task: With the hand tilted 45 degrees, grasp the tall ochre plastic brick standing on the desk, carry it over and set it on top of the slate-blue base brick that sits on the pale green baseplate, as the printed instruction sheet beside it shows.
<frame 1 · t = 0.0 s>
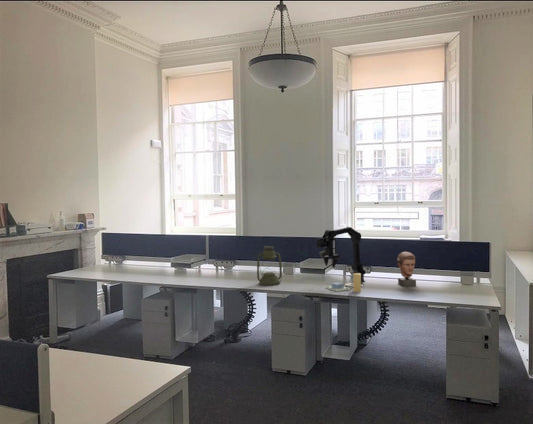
hand: (329, 266, 360), 15 cm above the table, tool pointing down, fingers open, 9 cm apart
base brick: (337, 285, 349), point 2 cm above the table
lantern: (269, 283, 373), on the table
bust: (407, 285, 357), on the table
pillar brick: (357, 290, 341), on the table
instruction sheet: (353, 285, 361), on the table
baseplate: (337, 288, 349), on the table
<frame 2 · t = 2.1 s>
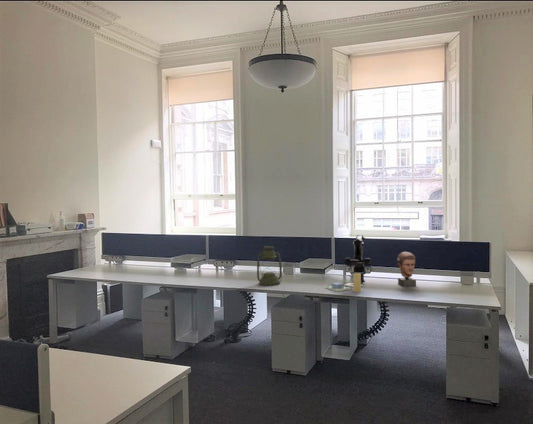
hand: (357, 270, 347), 13 cm above the table, tool tilted 45°, fingers open, 9 cm apart
nothing on the table moved.
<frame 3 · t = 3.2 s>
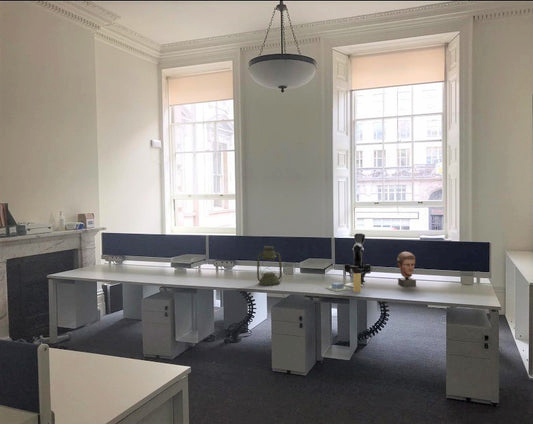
hand: (357, 277, 342), 10 cm above the table, tool tilted 45°, fingers open, 9 cm apart
nothing on the table moved.
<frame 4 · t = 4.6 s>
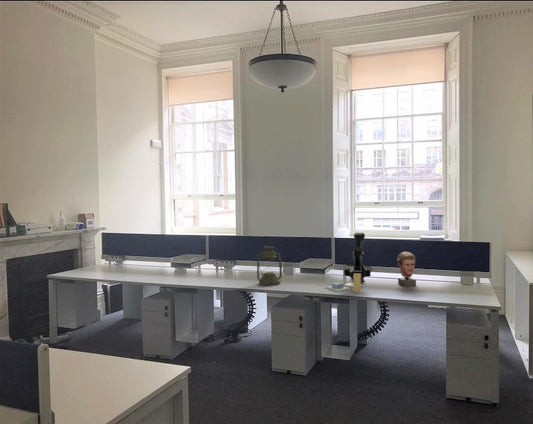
hand: (357, 282, 340), 7 cm above the table, tool tilted 45°, fingers closed on pillar brick, 5 cm apart
pillar brick: (357, 290, 341), on the table, touching gripper
everything else where it was.
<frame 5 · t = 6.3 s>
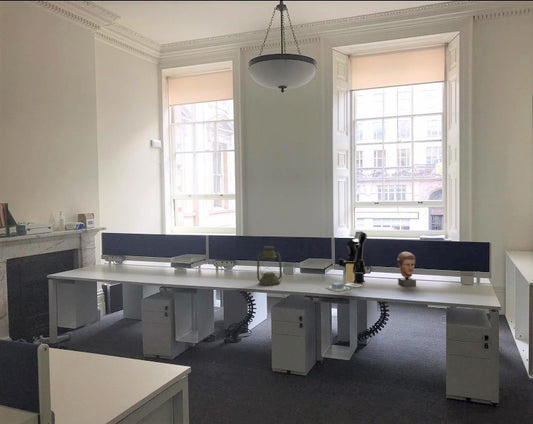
hand: (349, 272, 341), 13 cm above the table, tool tilted 45°, fingers closed on pillar brick, 5 cm apart
pillar brick: (350, 281, 343), point 7 cm above the table, touching gripper
everything else where it was.
when the fingers open (11 cm above the table, at t = 7.8 s): pillar brick stays where it is, resting on base brick.
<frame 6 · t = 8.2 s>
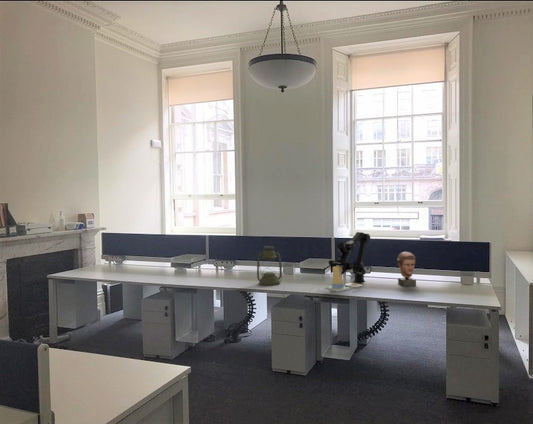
hand: (336, 273, 347), 12 cm above the table, tool tilted 45°, fingers open, 9 cm apart
pillar brick: (337, 283, 349), point 4 cm above the table, touching base brick
everything else where it was.
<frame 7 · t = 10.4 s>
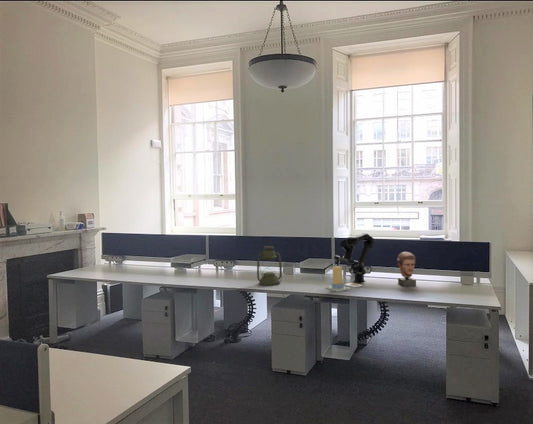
hand: (343, 271, 357), 11 cm above the table, tool tilted 30°, fingers open, 9 cm apart
nothing on the table moved.
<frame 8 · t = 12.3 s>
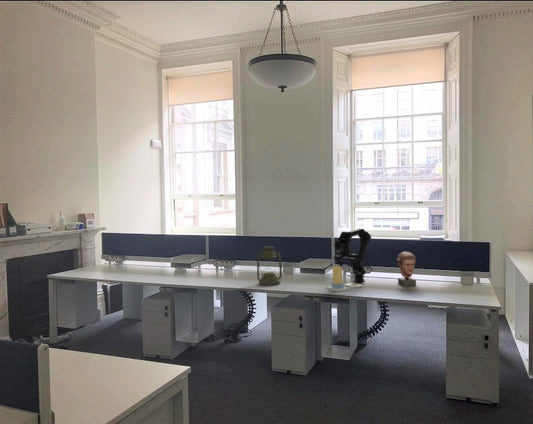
hand: (346, 268, 362), 13 cm above the table, tool pointing down, fingers open, 9 cm apart
nothing on the table moved.
at the end: pillar brick 0.0 cm off-centre on the base brick, point 4.0 cm above the base brick's base; pillar brick tilted 0°; the gripper is holding nothing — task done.
